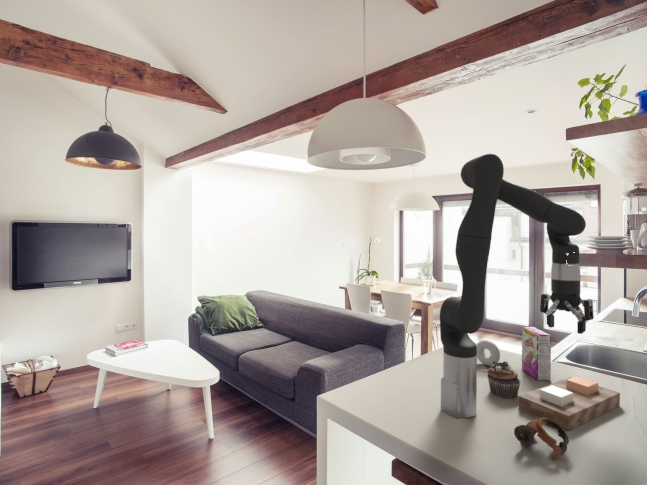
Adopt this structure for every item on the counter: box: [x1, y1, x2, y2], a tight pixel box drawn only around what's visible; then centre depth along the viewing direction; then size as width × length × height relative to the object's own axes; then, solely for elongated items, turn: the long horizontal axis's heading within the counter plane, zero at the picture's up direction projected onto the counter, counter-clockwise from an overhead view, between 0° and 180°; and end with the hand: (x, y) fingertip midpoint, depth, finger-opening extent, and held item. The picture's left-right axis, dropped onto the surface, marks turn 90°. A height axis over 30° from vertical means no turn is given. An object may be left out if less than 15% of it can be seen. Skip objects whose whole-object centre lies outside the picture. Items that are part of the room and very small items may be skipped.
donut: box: [476, 339, 501, 367], centre depth 147 cm, size 10×4×10 cm, turn 34°
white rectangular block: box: [540, 385, 573, 407], centre depth 108 cm, size 6×6×3 cm
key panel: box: [518, 376, 621, 431], centre depth 112 cm, size 28×14×4 cm, turn 119°
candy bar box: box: [521, 326, 552, 382], centre depth 137 cm, size 11×5×16 cm, turn 179°
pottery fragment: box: [513, 417, 570, 460], centre depth 91 cm, size 12×10×8 cm
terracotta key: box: [566, 375, 599, 396], centre depth 115 cm, size 6×6×3 cm
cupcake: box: [486, 361, 522, 400], centre depth 122 cm, size 10×10×10 cm
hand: (565, 330), depth 116 cm, fingers open, 8 cm apart
